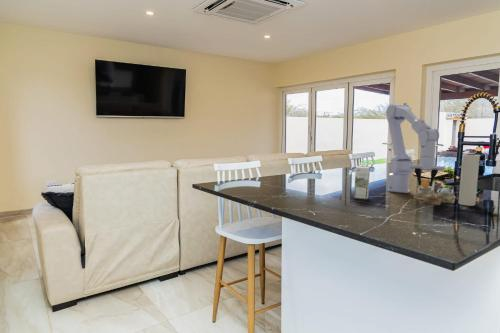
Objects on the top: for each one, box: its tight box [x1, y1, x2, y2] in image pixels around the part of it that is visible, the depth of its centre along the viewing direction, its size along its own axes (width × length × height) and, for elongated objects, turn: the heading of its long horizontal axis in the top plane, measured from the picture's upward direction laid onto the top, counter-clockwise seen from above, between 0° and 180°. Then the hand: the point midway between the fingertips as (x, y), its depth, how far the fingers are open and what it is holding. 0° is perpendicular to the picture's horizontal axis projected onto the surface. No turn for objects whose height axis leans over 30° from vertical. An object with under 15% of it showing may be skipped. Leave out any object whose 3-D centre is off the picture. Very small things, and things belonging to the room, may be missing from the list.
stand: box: [422, 197, 442, 206], centre depth 148 cm, size 6×6×2 cm
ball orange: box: [420, 178, 431, 188], centre depth 157 cm, size 4×4×4 cm
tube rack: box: [412, 186, 457, 204], centre depth 157 cm, size 16×13×4 cm
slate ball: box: [421, 186, 431, 191], centre depth 161 cm, size 4×4×4 cm
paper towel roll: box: [458, 153, 481, 207], centre depth 144 cm, size 7×6×21 cm
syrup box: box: [353, 165, 371, 200], centre depth 156 cm, size 6×6×14 cm
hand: (425, 185), depth 157 cm, fingers closed on ball orange, 4 cm apart
